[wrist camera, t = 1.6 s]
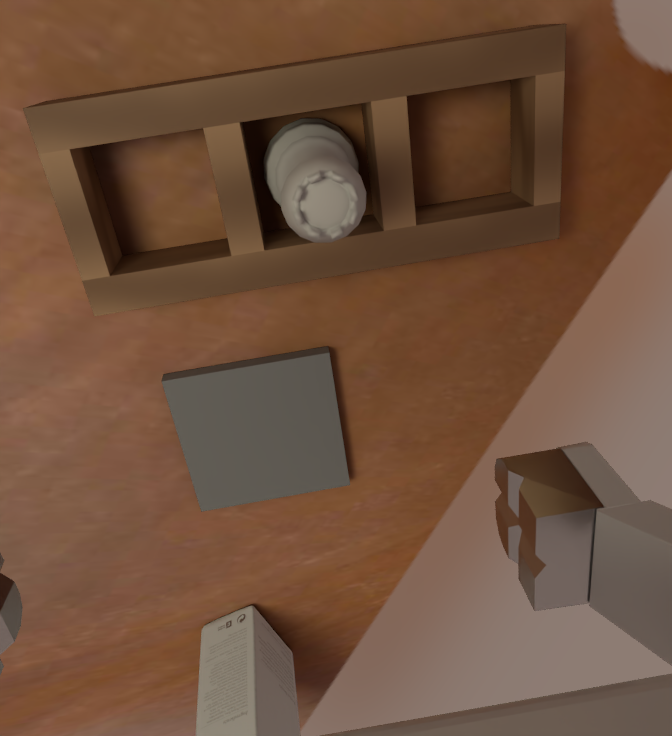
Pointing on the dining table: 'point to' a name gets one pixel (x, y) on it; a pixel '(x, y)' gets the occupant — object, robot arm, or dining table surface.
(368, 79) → the three-compartment wooden tray
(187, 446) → the coaster
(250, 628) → the skincare box
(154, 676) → the dining table surface
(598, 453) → the robot arm
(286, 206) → the rook chess piece
